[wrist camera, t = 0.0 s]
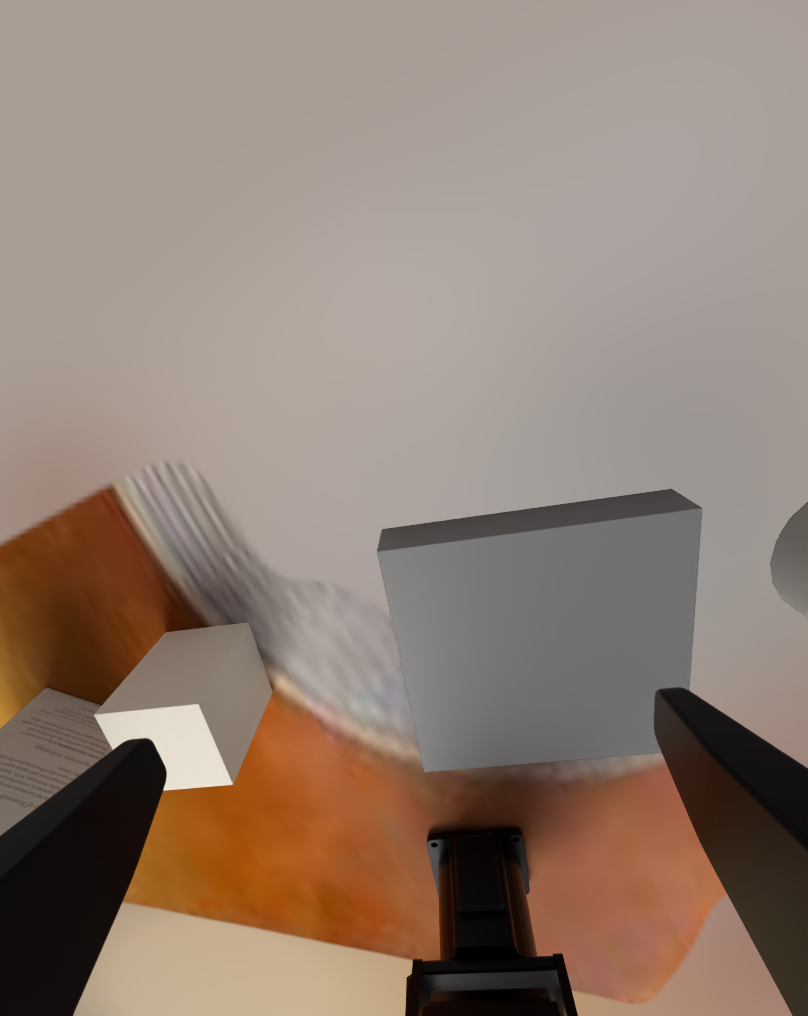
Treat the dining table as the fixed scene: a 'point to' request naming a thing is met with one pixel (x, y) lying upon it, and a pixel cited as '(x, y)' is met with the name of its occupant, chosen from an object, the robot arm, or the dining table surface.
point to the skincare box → (46, 751)
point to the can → (792, 562)
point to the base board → (543, 627)
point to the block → (193, 703)
